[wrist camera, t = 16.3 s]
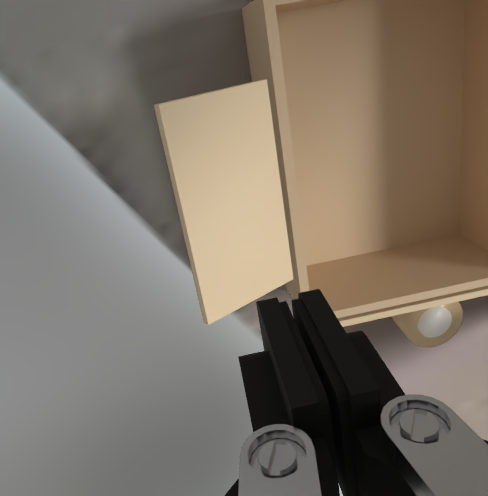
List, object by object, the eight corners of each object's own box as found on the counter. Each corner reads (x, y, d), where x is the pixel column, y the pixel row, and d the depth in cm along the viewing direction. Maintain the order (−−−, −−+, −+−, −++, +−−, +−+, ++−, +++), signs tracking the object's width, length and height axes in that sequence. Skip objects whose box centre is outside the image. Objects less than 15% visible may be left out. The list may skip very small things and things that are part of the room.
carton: (239, -6, 30) (259, -26, 23) (470, -45, 31) (560, -76, 24) (281, 283, 39) (306, 335, 32) (461, 245, 40) (525, 287, 33)
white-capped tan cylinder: (379, 275, 40) (405, 302, 36) (432, 264, 40) (464, 290, 36) (381, 322, 42) (406, 353, 38) (432, 310, 42) (462, 341, 38)
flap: (261, 79, 25) (153, 104, 22) (266, 79, 24) (158, 104, 21) (288, 276, 30) (203, 321, 26) (293, 278, 29) (208, 324, 26)
